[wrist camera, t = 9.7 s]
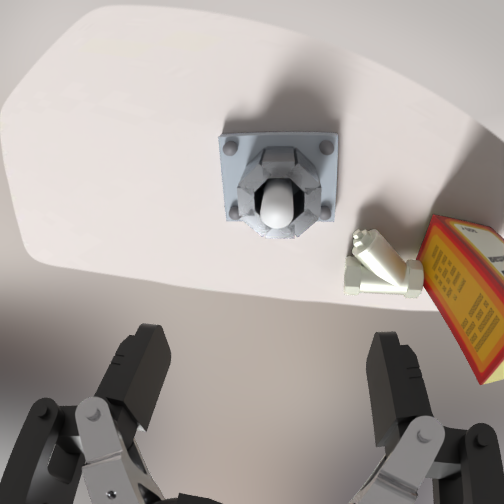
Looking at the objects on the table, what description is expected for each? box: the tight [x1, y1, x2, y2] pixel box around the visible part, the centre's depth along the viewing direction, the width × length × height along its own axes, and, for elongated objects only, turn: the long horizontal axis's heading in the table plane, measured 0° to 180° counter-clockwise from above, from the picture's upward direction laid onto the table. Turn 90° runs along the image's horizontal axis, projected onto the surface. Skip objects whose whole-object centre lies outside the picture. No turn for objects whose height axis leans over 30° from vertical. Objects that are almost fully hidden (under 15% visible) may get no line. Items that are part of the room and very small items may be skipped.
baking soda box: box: [416, 214, 504, 385], centre depth 22 cm, size 10×6×16 cm
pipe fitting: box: [344, 229, 424, 298], centre depth 28 cm, size 8×4×7 cm
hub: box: [237, 146, 322, 238], centre depth 24 cm, size 6×6×5 cm
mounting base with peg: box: [218, 132, 338, 229], centre depth 24 cm, size 10×8×8 cm
